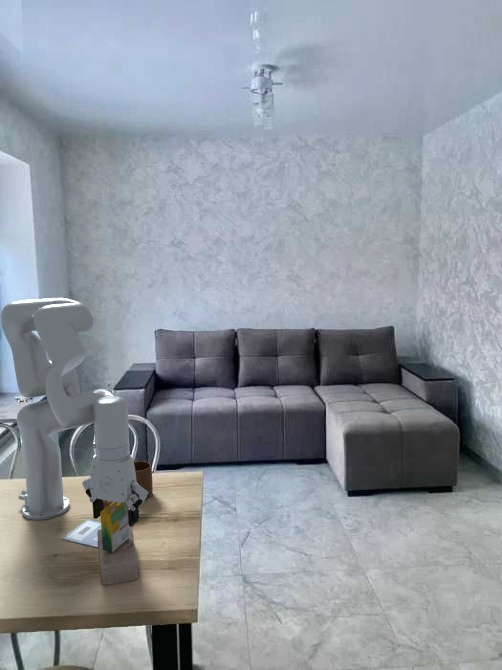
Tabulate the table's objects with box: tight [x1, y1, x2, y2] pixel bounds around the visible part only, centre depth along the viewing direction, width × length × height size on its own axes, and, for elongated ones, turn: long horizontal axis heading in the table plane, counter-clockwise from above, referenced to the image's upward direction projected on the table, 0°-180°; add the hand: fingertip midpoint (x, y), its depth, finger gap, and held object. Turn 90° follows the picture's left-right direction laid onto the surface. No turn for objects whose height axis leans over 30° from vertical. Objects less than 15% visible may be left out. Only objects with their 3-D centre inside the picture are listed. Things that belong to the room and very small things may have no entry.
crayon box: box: [100, 502, 131, 553], centre depth 119 cm, size 7×3×12 cm, turn 158°
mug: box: [131, 458, 154, 501], centre depth 155 cm, size 12×8×9 cm, turn 26°
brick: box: [97, 526, 140, 586], centre depth 120 cm, size 17×8×5 cm, turn 19°
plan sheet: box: [62, 519, 101, 549], centre depth 132 cm, size 14×10×1 cm
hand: (116, 519), depth 119 cm, fingers open, 9 cm apart
